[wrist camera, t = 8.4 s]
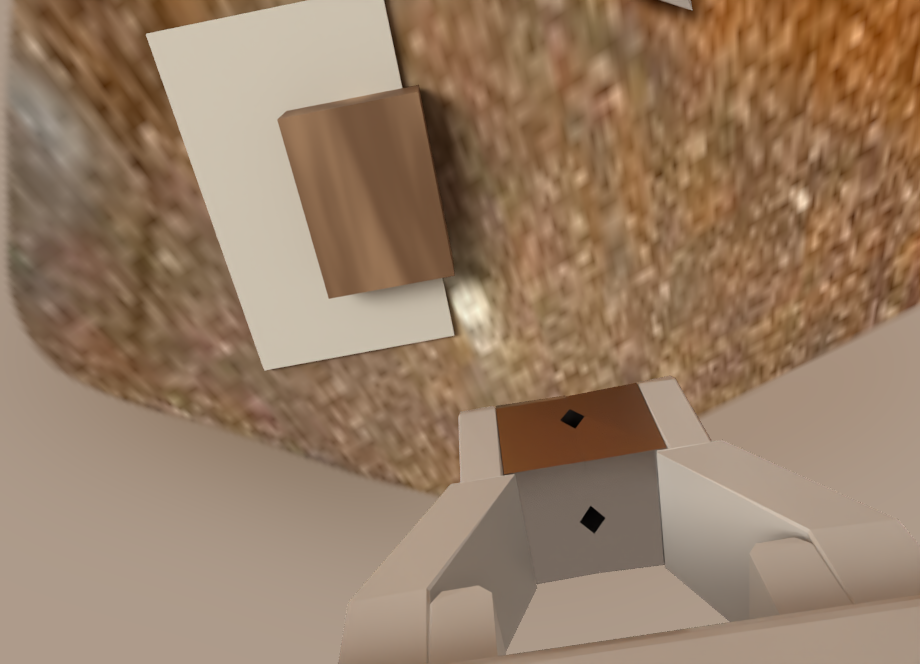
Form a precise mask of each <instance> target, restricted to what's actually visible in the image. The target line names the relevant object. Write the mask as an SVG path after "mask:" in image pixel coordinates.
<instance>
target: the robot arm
mask: <svg viewBox="0 0 920 664" xmlns="http://www.w3.org/2000/svg"><path fill="white" fill-rule="evenodd" d="M459 450H460V483H456V484H451V485H449V487H448V488H447V489H446V490H445V491H444V492H443V494H442V495H441V496H440V497H439V498H438V499H437V500H436V502H435V503H434V504H433V505H432V506H431V507H430V509H429V510H428V511H427V512H426V513H425V514H424V515H423V517H422V518H421V519H420V520H419V521H418V522H417V524H416V525H415V526H414V527H413V528H412V529H411V530H410V532H409V533H408V534H407V535H406V536H405V537H404V539H403V540H402V541H401V542H400V543H399V544H398V546H397V547H396V548H395V549H394V550H393V551H392V552H391V553H390V555H389V556H388V557H387V558H386V559H385V560H384V562H383V563H382V564H381V565H380V566H379V568H377V570H376V571H375V572H374V573H373V574H372V575H371V577H370V578H369V579H368V580H367V581H366V582H365V584H364V585H363V586H362V587H361V588H360V589H359V590H358V591H357V593H356V594H355V595H354V596H353V597H352V598H351V600H350V601H349V602H348V606H347V613H346V619H345V624H344V631H343V637H342V643H341V650H340V656H339V662H338V664H920V545H919V544H918V543H917V542H916V540H915V539H914V538H913V537H912V536H911V534H910V533H909V532H908V531H907V530H906V529H905V527H904V526H903V525H902V523H901V522H900V521H899V520H898V519H896V518H894V517H892V516H890V515H887V514H885V513H883V512H881V511H879V510H876V509H874V508H872V507H870V506H868V505H865V504H863V503H861V502H859V501H856V500H854V499H852V498H850V497H848V496H845V495H843V494H841V493H839V492H836V491H834V490H832V489H830V488H828V487H825V486H823V485H821V484H819V483H817V482H814V481H812V480H810V479H808V478H806V477H804V476H801V475H799V474H797V473H795V472H793V471H790V470H788V469H786V468H784V467H781V466H779V465H777V464H775V463H773V462H770V461H768V460H766V459H764V458H761V457H759V456H757V455H755V454H753V453H751V452H748V451H746V450H744V449H742V448H739V447H737V446H735V445H733V444H731V443H728V442H726V441H724V440H720V441H713V442H712V441H711V439H710V437H709V435H708V434H707V432H706V430H705V428H704V427H703V425H702V423H701V421H700V420H699V418H698V416H697V415H696V413H695V411H694V409H693V408H692V406H691V404H690V403H689V401H688V399H687V397H686V396H685V394H684V392H683V390H682V389H681V387H680V385H679V384H678V382H677V380H676V378H674V377H672V376H666V377H661V378H656V379H651V380H646V381H642V382H637V383H633V384H628V385H623V386H618V387H613V388H607V389H602V390H597V391H592V392H587V393H582V394H577V395H571V396H559V397H552V398H545V399H539V400H532V401H525V402H519V403H512V404H505V405H498V406H496V408H495V407H494V406H490V407H485V408H479V409H474V410H468V411H462V412H460V415H459ZM659 565H665V567H666V569H668V570H669V571H670V572H671V573H672V574H674V575H675V576H676V577H677V578H678V579H680V580H681V581H682V582H683V583H684V584H685V585H687V586H688V587H689V588H690V589H691V590H693V591H694V592H695V593H696V594H697V595H699V596H700V597H701V598H702V599H703V600H705V601H706V602H707V603H708V604H709V605H711V606H712V607H713V608H714V609H715V610H717V611H718V612H719V613H720V614H721V615H723V616H724V617H725V618H726V619H727V620H729V621H730V622H728V623H721V624H715V625H708V626H701V627H694V628H687V629H680V630H674V631H667V632H660V633H653V634H647V635H641V636H633V637H627V638H620V639H613V640H606V641H599V642H593V643H586V644H579V645H572V646H566V647H559V648H551V649H545V650H538V651H531V652H524V653H517V654H510V655H506V651H507V649H508V647H509V644H510V642H511V640H512V638H513V636H514V634H515V632H516V630H517V628H518V626H519V624H520V622H521V620H522V618H523V616H524V614H525V611H526V609H527V607H528V605H529V603H530V601H531V599H532V597H533V595H534V593H535V591H536V589H537V585H536V584H540V583H546V582H552V581H557V580H563V579H568V578H574V577H579V576H584V575H590V574H596V573H602V572H610V571H618V570H626V569H635V568H643V567H651V566H659ZM599 571H600V572H599Z"/></svg>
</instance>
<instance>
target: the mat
mask: <svg viewBox="0 0 920 664" xmlns="http://www.w3.org/2000/svg"><path fill="white" fill-rule="evenodd" d="M146 36H147V39H148V42H149V45H150V48H151V50H152V53H153V56H154V59H155V62H156V65H157V67H158V70H159V73H160V76H161V79H162V82H163V84H164V87H165V90H166V93H167V96H168V99H169V101H170V104H171V107H172V110H173V113H174V116H175V118H176V121H177V124H178V127H179V130H180V133H181V135H182V138H183V141H184V144H185V147H186V150H187V152H188V155H189V158H190V161H191V164H192V167H193V170H194V172H195V175H196V178H197V181H198V184H199V187H200V189H201V192H202V195H203V198H204V201H205V204H206V206H207V209H208V212H209V215H210V218H211V221H212V223H213V226H214V229H215V232H216V235H217V238H218V240H219V243H220V246H221V249H222V252H223V255H224V257H225V260H226V263H227V266H228V269H229V272H230V274H231V277H232V280H233V283H234V286H235V289H236V291H237V294H238V297H239V300H240V303H241V306H242V308H243V311H244V314H245V317H246V320H247V323H248V325H249V328H250V331H251V334H252V337H253V340H254V343H255V345H256V348H257V351H258V354H259V357H260V360H261V362H262V365H263V368H264V370H270V369H275V368H281V367H286V366H292V365H297V364H302V363H308V362H313V361H319V360H324V359H330V358H335V357H341V356H346V355H351V354H357V353H362V352H368V351H373V350H379V349H384V348H389V347H395V346H400V345H406V344H411V343H417V342H422V341H427V340H433V339H438V338H444V337H449V336H454V329H453V325H452V320H451V315H450V310H449V306H448V301H447V296H446V291H445V287H444V282H443V278H439V279H434V280H428V281H423V282H417V283H412V284H407V285H401V286H396V287H390V288H385V289H379V290H374V291H369V292H363V293H358V294H352V295H347V296H342V297H336V298H331V299H329V298H328V294H327V291H326V288H325V284H324V281H323V277H322V274H321V270H320V267H319V263H318V260H317V256H316V253H315V249H314V246H313V242H312V239H311V235H310V232H309V228H308V225H307V222H306V218H305V215H304V211H303V208H302V204H301V201H300V197H299V194H298V190H297V187H296V183H295V180H294V176H293V173H292V169H291V166H290V162H289V159H288V156H287V152H286V149H285V145H284V142H283V138H282V135H281V131H280V128H279V124H278V121H277V119H278V118H279V117H280V116H282V115H283V114H284V113H285V112H286V111H289V110H294V109H299V108H304V107H309V106H314V105H319V104H325V103H330V102H335V101H340V100H345V99H350V98H355V97H360V96H365V95H370V94H375V93H380V92H385V91H391V90H396V89H401V88H403V87H402V82H401V78H400V73H399V68H398V63H397V59H396V54H395V49H394V44H393V40H392V35H391V30H390V25H389V21H388V16H387V11H386V6H385V2H384V0H307V1H303V2H298V3H293V4H288V5H283V6H278V7H274V8H269V9H264V10H259V11H254V12H249V13H245V14H240V15H235V16H230V17H225V18H220V19H216V20H211V21H206V22H201V23H196V24H191V25H187V26H182V27H177V28H172V29H167V30H162V31H158V32H153V33H148V34H146Z"/></svg>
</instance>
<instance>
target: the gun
mask: <svg viewBox="0 0 920 664" xmlns="http://www.w3.org/2000/svg"><path fill="white" fill-rule="evenodd" d="M660 1H663V2H666V3H669V4H672V5H675V6H678V7H681V8H684V9H688V10H692V11H693V9H692V4H691V0H660Z"/></svg>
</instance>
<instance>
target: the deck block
mask: <svg viewBox="0 0 920 664" xmlns="http://www.w3.org/2000/svg"><path fill="white" fill-rule="evenodd" d="M277 121H278V124H279V128H280V131H281V135H282V138H283V142H284V145H285V149H286V152H287V156H288V159H289V162H290V166H291V169H292V173H293V176H294V180H295V183H296V187H297V190H298V194H299V197H300V201H301V204H302V208H303V211H304V215H305V218H306V222H307V225H308V228H309V232H310V235H311V239H312V242H313V246H314V249H315V253H316V256H317V260H318V263H319V267H320V270H321V274H322V277H323V281H324V284H325V288H326V291H327V294H328V298H329V299H331V298H336V297H342V296H347V295H352V294H358V293H363V292H369V291H374V290H379V289H385V288H390V287H396V286H401V285H407V284H412V283H417V282H423V281H428V280H434V279H439V278H444V277H450V276H455V274H454V263H453V256H452V251H451V246H450V241H449V236H448V231H447V226H446V220H445V215H444V210H443V205H442V200H441V195H440V190H439V185H438V180H437V175H436V170H435V165H434V160H433V155H432V150H431V145H430V140H429V134H428V129H427V124H426V119H425V114H424V109H423V104H422V99H421V94H420V89H419V85H416V86H411V87H406V88H401V89H396V90H391V91H385V92H380V93H375V94H370V95H365V96H360V97H355V98H350V99H345V100H340V101H335V102H330V103H325V104H319V105H314V106H309V107H304V108H299V109H294V110H289V111H286V112H285V113H284V114H283V115H282V116H280V117H279V118H278V119H277Z"/></svg>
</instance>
